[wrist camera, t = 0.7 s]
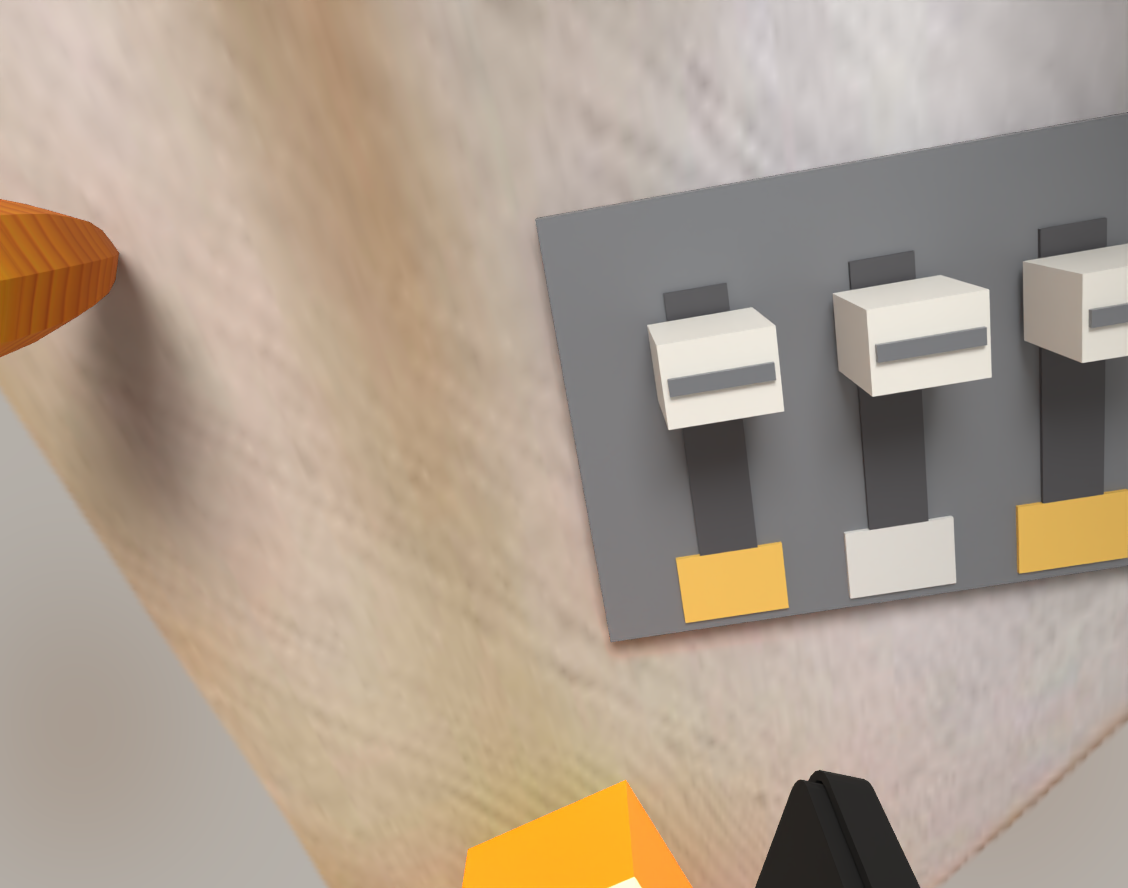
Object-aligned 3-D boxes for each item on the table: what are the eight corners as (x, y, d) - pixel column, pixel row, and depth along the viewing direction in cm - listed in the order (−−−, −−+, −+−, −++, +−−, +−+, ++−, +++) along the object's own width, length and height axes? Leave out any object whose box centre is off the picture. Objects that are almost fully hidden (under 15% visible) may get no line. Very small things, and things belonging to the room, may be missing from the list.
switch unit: (1206, 98, 32) (1233, 95, 31) (1187, 542, 38) (1209, 556, 36) (536, 217, 34) (535, 220, 32) (609, 628, 39) (610, 644, 38)
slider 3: (1133, 242, 32) (1213, 253, 28) (1132, 322, 33) (1208, 344, 29) (1022, 261, 32) (1085, 274, 28) (1024, 340, 33) (1085, 364, 29)
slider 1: (752, 307, 33) (776, 326, 29) (760, 383, 34) (785, 412, 30) (646, 325, 33) (656, 346, 29) (657, 400, 34) (669, 431, 30)
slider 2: (940, 274, 33) (991, 290, 29) (944, 353, 33) (994, 378, 29) (832, 293, 33) (868, 311, 29) (838, 370, 34) (874, 398, 30)
